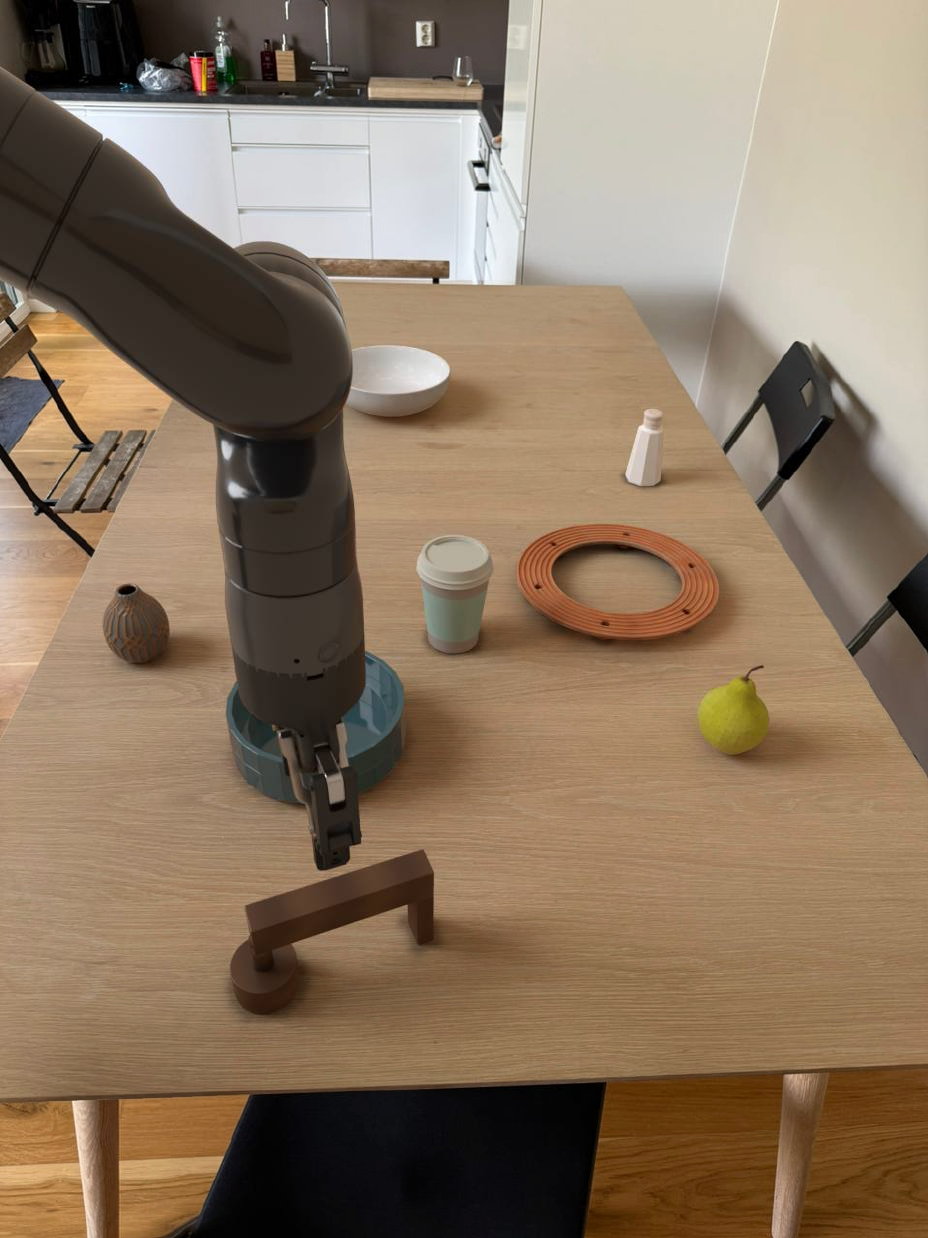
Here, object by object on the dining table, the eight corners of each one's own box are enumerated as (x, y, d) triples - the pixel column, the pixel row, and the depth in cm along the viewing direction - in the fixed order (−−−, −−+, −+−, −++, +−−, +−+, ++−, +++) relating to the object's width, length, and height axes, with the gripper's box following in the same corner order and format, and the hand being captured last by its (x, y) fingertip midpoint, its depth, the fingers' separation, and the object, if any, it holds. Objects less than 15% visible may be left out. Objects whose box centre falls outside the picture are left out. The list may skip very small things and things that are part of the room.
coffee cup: (503, 633, 106) (509, 548, 98) (462, 671, 100) (465, 584, 93) (444, 607, 109) (445, 523, 102) (402, 643, 104) (400, 557, 96)
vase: (112, 637, 103) (95, 574, 98) (174, 629, 104) (161, 568, 99) (108, 675, 98) (90, 612, 92) (173, 667, 99) (159, 604, 94)
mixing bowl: (254, 830, 82) (246, 785, 78) (219, 708, 94) (211, 665, 90) (429, 779, 87) (429, 735, 83) (374, 671, 100) (373, 629, 96)
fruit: (681, 724, 94) (703, 636, 87) (740, 716, 95) (766, 628, 88) (709, 772, 89) (735, 682, 82) (771, 762, 90) (802, 673, 83)
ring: (485, 554, 119) (485, 539, 117) (649, 523, 126) (652, 508, 125) (569, 672, 100) (571, 655, 99) (756, 627, 108) (761, 611, 106)
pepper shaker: (639, 490, 134) (650, 422, 127) (618, 474, 138) (628, 407, 131) (667, 482, 136) (680, 415, 129) (646, 467, 140) (657, 401, 133)
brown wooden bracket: (242, 1024, 67) (226, 957, 62) (229, 967, 71) (212, 899, 65) (439, 953, 72) (440, 886, 67) (417, 903, 76) (417, 836, 70)
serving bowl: (357, 440, 144) (355, 400, 140) (313, 392, 159) (310, 354, 154) (470, 418, 152) (472, 379, 148) (418, 373, 167) (418, 337, 162)
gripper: (208, 571, 54) (238, 757, 64) (258, 725, 44) (285, 918, 54) (328, 549, 57) (339, 731, 67) (401, 690, 46) (402, 881, 56)
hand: (315, 814), depth 60 cm, fingers open, 8 cm apart
